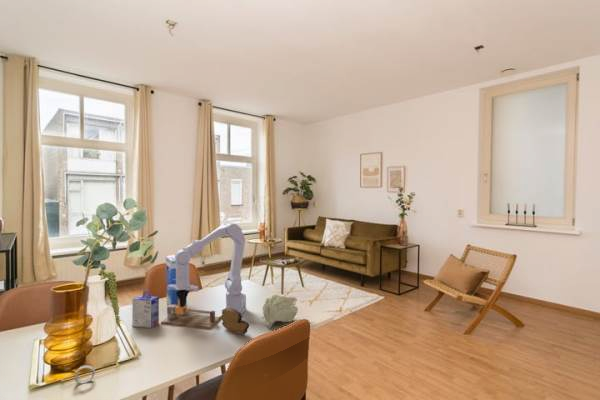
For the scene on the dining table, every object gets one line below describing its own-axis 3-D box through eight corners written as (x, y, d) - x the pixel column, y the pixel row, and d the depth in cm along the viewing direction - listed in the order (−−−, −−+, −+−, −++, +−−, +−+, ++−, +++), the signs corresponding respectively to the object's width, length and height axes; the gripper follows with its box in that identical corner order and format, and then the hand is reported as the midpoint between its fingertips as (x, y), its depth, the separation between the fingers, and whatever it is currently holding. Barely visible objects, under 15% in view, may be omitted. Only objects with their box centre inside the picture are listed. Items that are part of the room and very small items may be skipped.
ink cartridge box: (159, 323, 136) (159, 291, 136) (151, 328, 131) (151, 295, 130) (140, 321, 138) (140, 289, 138) (131, 326, 133) (131, 294, 132)
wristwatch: (76, 381, 95) (76, 366, 95) (95, 377, 97) (94, 362, 97) (74, 387, 92) (73, 371, 92) (93, 382, 94) (93, 367, 94)
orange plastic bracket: (186, 311, 140) (186, 297, 140) (182, 314, 137) (182, 299, 137) (178, 311, 141) (178, 296, 140) (174, 313, 138) (174, 299, 138)
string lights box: (187, 309, 152) (186, 258, 151) (170, 313, 147) (170, 260, 146) (180, 301, 163) (180, 253, 162) (165, 304, 158) (165, 255, 157)
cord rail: (220, 319, 141) (220, 305, 140) (210, 329, 131) (210, 314, 130) (174, 314, 145) (174, 301, 145) (160, 323, 135) (160, 309, 135)
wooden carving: (252, 334, 126) (252, 310, 126) (245, 338, 122) (245, 314, 122) (223, 325, 135) (223, 302, 134) (216, 329, 131) (216, 306, 130)
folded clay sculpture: (280, 331, 143) (285, 297, 150) (299, 333, 135) (303, 297, 141) (250, 326, 133) (256, 289, 139) (268, 327, 124) (274, 289, 131)
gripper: (163, 278, 135) (163, 307, 136) (192, 280, 133) (192, 310, 133) (172, 273, 142) (172, 302, 143) (200, 275, 140) (201, 304, 140)
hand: (183, 305), depth 138 cm, fingers closed
